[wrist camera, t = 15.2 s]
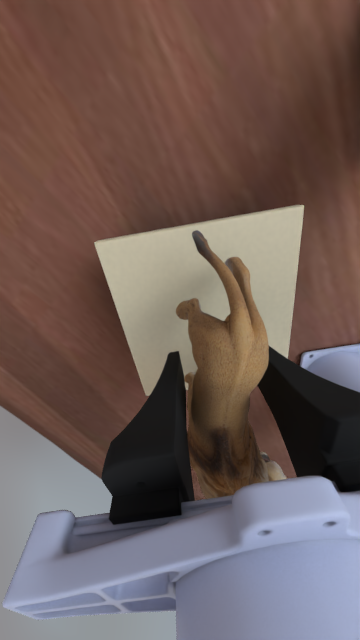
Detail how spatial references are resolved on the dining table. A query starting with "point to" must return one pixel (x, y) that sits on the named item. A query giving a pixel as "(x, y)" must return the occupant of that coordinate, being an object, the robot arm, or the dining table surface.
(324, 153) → the dining table surface
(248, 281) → the lion figurine
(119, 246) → the lid
